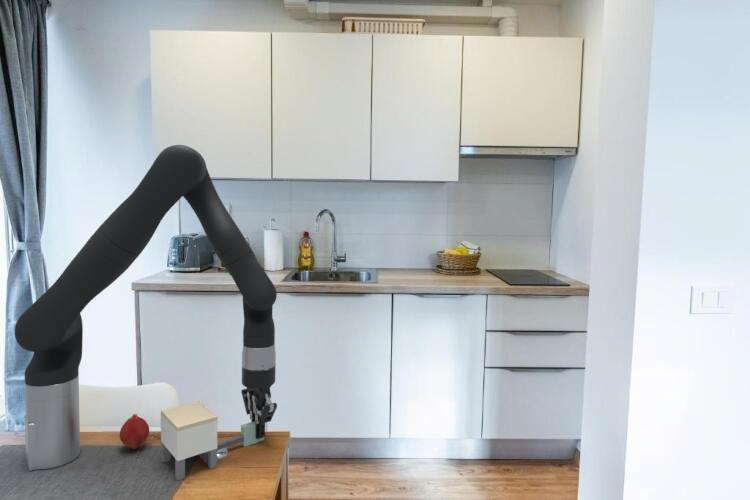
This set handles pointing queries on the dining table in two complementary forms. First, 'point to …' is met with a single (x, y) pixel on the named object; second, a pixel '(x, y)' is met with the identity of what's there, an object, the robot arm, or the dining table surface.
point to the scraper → (238, 439)
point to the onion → (134, 432)
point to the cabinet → (188, 435)
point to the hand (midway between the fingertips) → (258, 436)
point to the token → (221, 453)
